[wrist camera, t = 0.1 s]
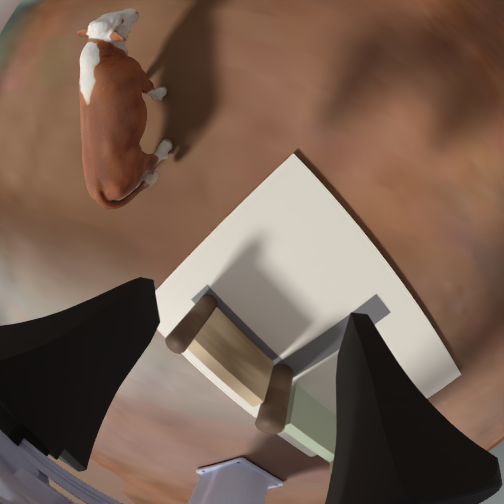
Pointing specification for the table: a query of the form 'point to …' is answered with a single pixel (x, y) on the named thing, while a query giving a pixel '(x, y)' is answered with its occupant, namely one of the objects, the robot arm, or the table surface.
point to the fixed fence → (235, 362)
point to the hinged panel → (311, 424)
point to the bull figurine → (115, 113)
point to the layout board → (302, 289)
